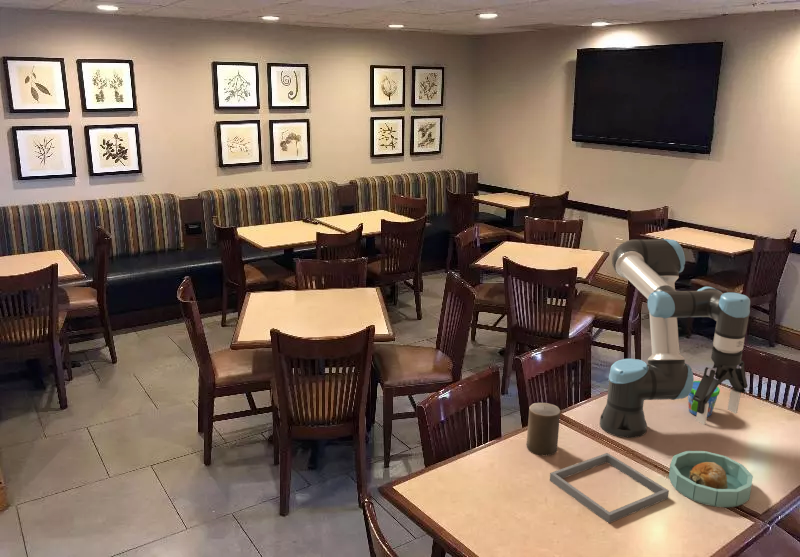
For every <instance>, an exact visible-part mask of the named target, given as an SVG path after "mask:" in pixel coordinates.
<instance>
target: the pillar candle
mask: <svg viewBox="0 0 800 557" xmlns="http://www.w3.org/2000/svg"><path fill="white" fill-rule="evenodd" d="M560 417H561V409H560V408H559V406H557V405H555V404H552V403H550V402H549V403H547V402H535V403H532V404H531V405H529V409H528V421H527V422H528V423H527V431H526V432H527V434H526V435H527V436H526V448H527V450H528V451H529V452H531V453H532V452H533V454H535V455H537V456H538V455H539V456H546V455H547V456H550V455H551V456H552V455H554V454H556V453H557V451H558V444H559V443H558V441H559V431H560V430H559V429H560V421H561V420H560Z"/></svg>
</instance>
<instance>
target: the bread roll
mask: <svg viewBox="0 0 800 557" xmlns="http://www.w3.org/2000/svg"><path fill="white" fill-rule="evenodd" d="M690 480H691V481H693V482H695V483H697V484H700V485H704V486H707V487H711V488H715V489H727V488H728V485H727V477H726V472H725V470H724V469H723V468H722V467H721V466H719V465H717V464H716V463H714V462H703V463H700V464H697V465H695V466H694V467H693V468H692V470H691V471H690Z"/></svg>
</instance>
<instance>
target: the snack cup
mask: <svg viewBox="0 0 800 557" xmlns="http://www.w3.org/2000/svg"><path fill="white" fill-rule="evenodd" d="M700 382H701V380H694V381H693V387H692V390H691V392H690V394H689V395H688V396H687V401H688V411H689V413H691V414H692V415H694V416H697V406H698V402H697V401H695V400H693V397H694V394H695V392H696V390H697V388H698V386H699V384H700ZM720 392H721V390H720V387H719V386H717V388H716V389H715V391H714V392H713V394H712V395H711V397H710V399H709V400H708V402H707V403H709V407H708V413H707V418H708V417H710V416H711V415H712V413H713V411H714V408H715V406H716V402H717V397H718V396H719V395H720ZM704 399H705V398H704Z"/></svg>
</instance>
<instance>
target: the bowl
mask: <svg viewBox="0 0 800 557" xmlns="http://www.w3.org/2000/svg"><path fill="white" fill-rule="evenodd" d="M703 462H714V463H716V464H717V465H719V466H721V467H722V468H723V469H724V470H725V472H726V477H727V485H728V488H727V489H715V488H711V487H707V486H704V485H700V484H697V483H695V482H693V481H691V480H690V471H691V470H692V468H693V467H694V466H695V465H697V464H700V463H703ZM753 478H754V475H753V474H752V473H751V472H750V471H749V470H748V469H747V468H746V466H745V465H743V464H742V463H739V462H738V461H736V460H734V459H733V458H730V457H728V456H726V455H723V454H719V453H714V452H710V451H706V450H685V451H683V452H680V453H677V454H675V455H673V456H672V458H671V461H670V466H669V472H668V480H669V481H670V483H671V486H673V488H674V489H675V490H676V491H677V492H679V493H680V495H682V496H684V497H685V498H688V499H689V500H691V501H694V502H696V503H699V504H703V505H706V506H711V507H717V508H735V507H738V506H742V505H744V504H746V503H747V501H749V500H750V497H751V491H752V484H753Z"/></svg>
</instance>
